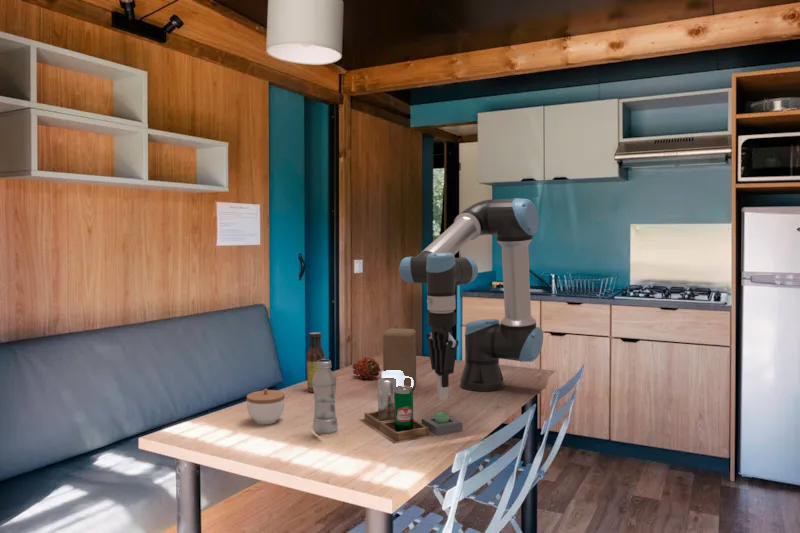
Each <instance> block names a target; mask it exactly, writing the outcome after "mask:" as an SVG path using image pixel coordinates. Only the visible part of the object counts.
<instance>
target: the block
mask: <svg viewBox="0 0 800 533" xmlns="http://www.w3.org/2000/svg"><path fill="white" fill-rule="evenodd" d="M382 346H383V347H382V354H383V355H382V361H383V362H382V365H383V366H382V368H383V371H386V370H401V371H403V373H404V375H405V376H409V377H412V378H413V380H414V387H415V386H416V384H417V331H416V329H415V328H392V327H390V328H389V329H387V330H386V331H384V332H383V334H382ZM383 371H382V372H383ZM404 386H411V379H410V378H405V380H404Z"/></svg>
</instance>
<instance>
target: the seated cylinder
mask: <svg viewBox="0 0 800 533" xmlns="http://www.w3.org/2000/svg"><path fill="white" fill-rule="evenodd" d="M395 388H396V379H394V378H383V377H381V378H378V379H377V411H378V420H379V421H386V420H392V419H394V391H395Z"/></svg>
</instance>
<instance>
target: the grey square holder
mask: <svg viewBox="0 0 800 533" xmlns="http://www.w3.org/2000/svg"><path fill="white" fill-rule="evenodd" d="M421 424H423V425H425V426H427V427H428V428H429V433H431V434H433V435H434V436H436V437H437V436H442V435H448V434H453V433H459V432H463V430H464V429H463V421H461V420H459V419H456V418H455V417H453V416H450V415H449V422H448V423H442V424H438V423H436V422H435V415H433V416H428V417H423V418H421Z"/></svg>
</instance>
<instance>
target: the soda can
mask: <svg viewBox="0 0 800 533" xmlns="http://www.w3.org/2000/svg"><path fill="white" fill-rule="evenodd" d="M413 419H414V391H413V389H412V387H410V386H398V387H396V388H395V391H394V430H395V431H396V432H401V431H406V430H412V429H413Z"/></svg>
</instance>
